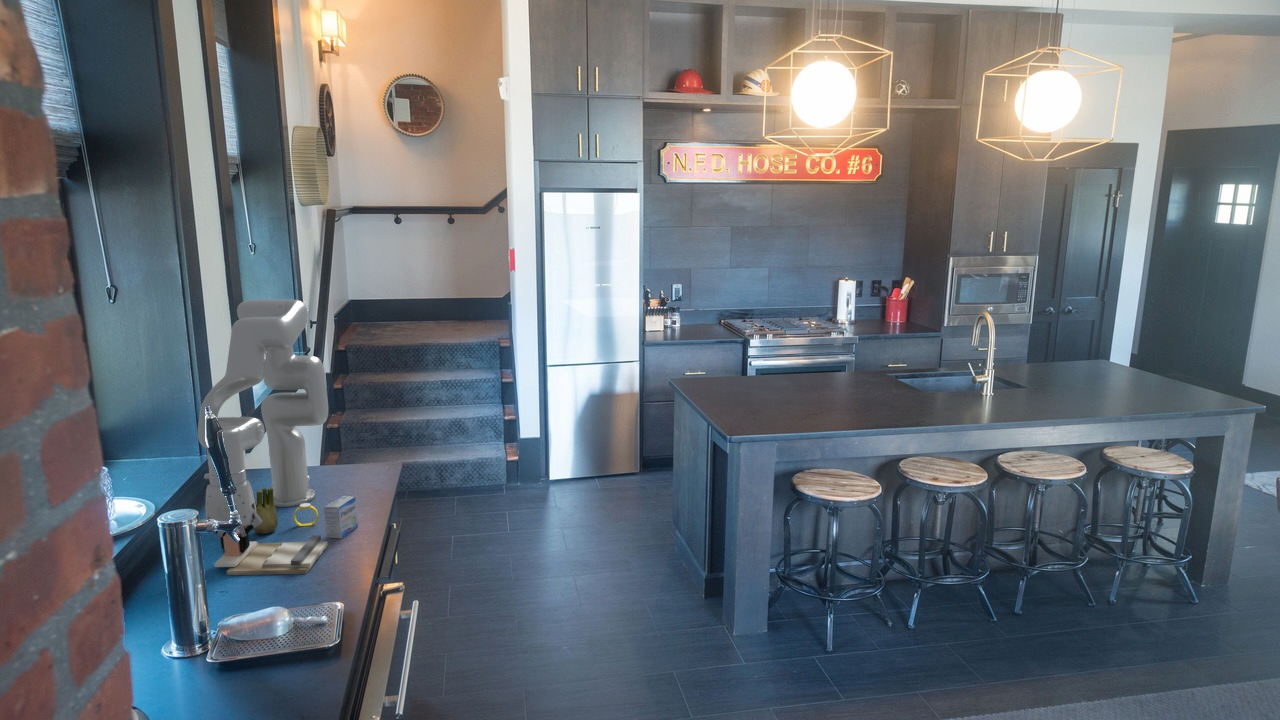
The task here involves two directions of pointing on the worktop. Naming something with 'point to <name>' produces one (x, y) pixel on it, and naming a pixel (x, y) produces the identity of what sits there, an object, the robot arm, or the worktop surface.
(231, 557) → the terracotta pink brick
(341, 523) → the medicine box
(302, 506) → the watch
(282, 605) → the worktop surface
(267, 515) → the fennel bulb
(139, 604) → the worktop surface
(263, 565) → the board
